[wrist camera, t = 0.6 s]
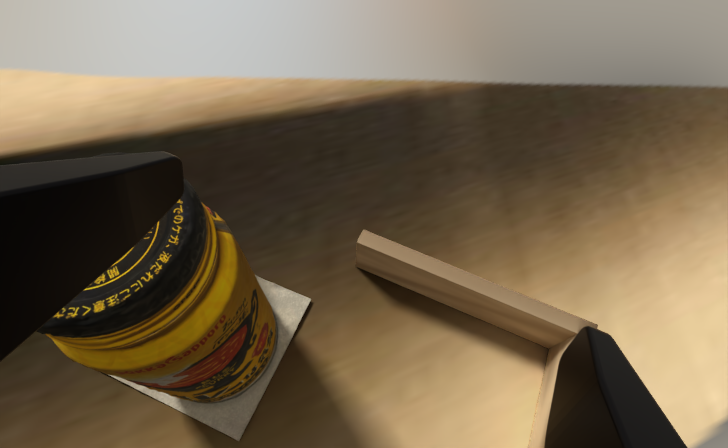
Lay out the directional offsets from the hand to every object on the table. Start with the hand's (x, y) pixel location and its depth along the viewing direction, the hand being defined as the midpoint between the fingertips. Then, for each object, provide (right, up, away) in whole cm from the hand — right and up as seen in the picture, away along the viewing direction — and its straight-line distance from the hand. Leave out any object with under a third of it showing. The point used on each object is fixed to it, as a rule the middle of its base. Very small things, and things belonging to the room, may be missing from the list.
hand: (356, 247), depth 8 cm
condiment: (-8, -5, +13) cm, 16 cm away
